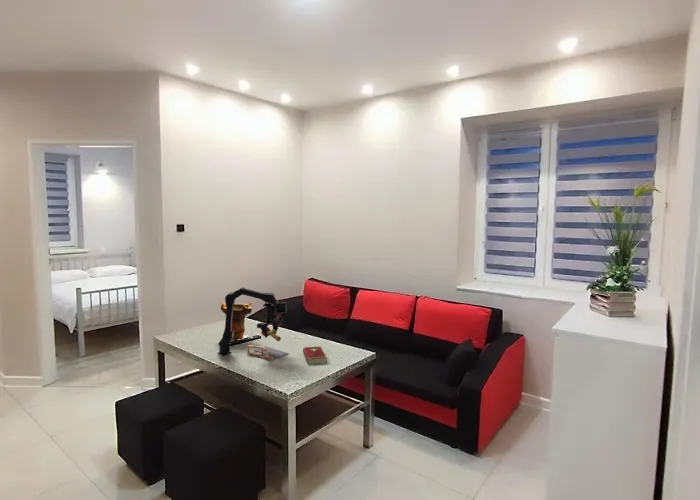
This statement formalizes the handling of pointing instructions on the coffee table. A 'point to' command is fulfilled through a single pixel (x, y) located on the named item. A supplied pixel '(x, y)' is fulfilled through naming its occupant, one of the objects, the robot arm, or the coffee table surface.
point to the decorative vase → (238, 318)
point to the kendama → (272, 334)
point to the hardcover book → (314, 355)
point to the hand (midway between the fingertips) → (270, 336)
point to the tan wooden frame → (260, 353)
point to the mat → (272, 352)
